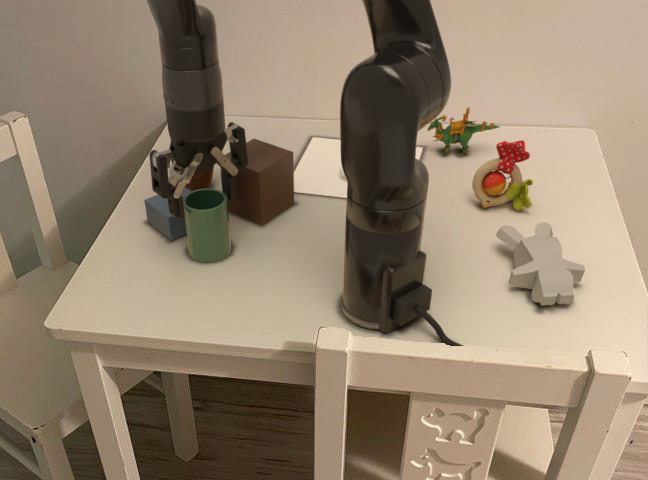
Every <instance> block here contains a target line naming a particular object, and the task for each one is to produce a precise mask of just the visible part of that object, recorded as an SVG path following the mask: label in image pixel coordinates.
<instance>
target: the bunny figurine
mask: <svg viewBox="0 0 648 480" xmlns="http://www.w3.org/2000/svg"><path fill="white" fill-rule="evenodd" d="M553 235H554V233H553V228H552V224H550V223H548V222H544V221H543V222H539V223H537V224H536V225H535V226H534V235H532V236H529V237H526V238H525V237H524V236H523V235H522V234H521V233H520V232H519V231H518V230H517V229H516V228H515V227H514V226H512V225H509V224H504V225H501V226H500V228H499V229H498V230H497V232H496V233H495V236H496V238H497V239H498V240H500V241H502V242H503V243H504V244H505V245H507V246H509V247H511V248H512V249H513V264H514V269H512V270H511V272H510V275H509V279H508V285H509V286H510V287H515V288H522V289H528V290H531V294H530V297H531V300H532V301H533V302H534V303H539V304H540V306H553V305H555V303H556V304H558V305H568V304H569V305H570V304H572V302H573V300H574V297H575V296H576V294H575V292H574V284H576V283H578V282H582V280H583V277H584V274H585V272H586V268H585V265H584V264H581V263H577V262H574V261H572V260H571V261H570V260H568V259H565V258H563V248H562V244H561V242H560V240H559V239H558V237H556V236H553Z"/></svg>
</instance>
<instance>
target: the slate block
mask: <svg viewBox="0 0 648 480" xmlns="http://www.w3.org/2000/svg"><path fill="white" fill-rule="evenodd" d="M189 192H192V191H190V190H189V189H187V188H186V187H185V188H184V190H183V192H182V194H181V196H182V197H184V196H185V195H186V194H188V193H189ZM143 203H144V207H145V208H144V209H145V213H146V220H147V223H148V224H149V225H151V226H152V227H153V228H154V229H156V230H157V231H158V232H159V233H161V234H162V235H163V236H165V237H166V238H168V239H169V240H170V241H174V240H176V239H179V238H181V237H183V236H186V229H185V221H184V219H183V220H181V221H179V220H178V219H177V218H175V217H174V216H173V215H171V214H170V212H169V207H168V199H167V198H166V199H164V198H162V197H161V196H159V195H158V194H156V195H153V196H151V197H148V198H146V199H144V200H143Z"/></svg>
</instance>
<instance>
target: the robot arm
mask: <svg viewBox="0 0 648 480" xmlns="http://www.w3.org/2000/svg"><path fill="white" fill-rule="evenodd" d="M146 2H147V5H148V7H149V10H150V14H151V16H152V18H153V21H154V23H155V25H156V28H157V32H158V44H159V50H160V59H161V83H162V91H163V93H162V94H163V96H162V97H163V100H164V108H165V116H166V125H167V131H168V135H169V139H170V143H169V148H168V149H166V150H162V151H158V150H156V149H152V150H151V151H150V152H149V165H150V176H151V178H150V179H151V189H152V191H153V192H154V193H155V194H156V195H159V196H161V197H162V198H164V199H166V198H167V199H168V207H169V212H170V214H171V215H173V216H174V217H175V218H177V219H178V220H179V221H181V220H183V219H185V213H184V205H183V197H182V196H181V194H182V192H183V190H184V188H185V186H186V184H189V183H190V181H191V178H192V176H193V174H195V175H196V174H198V173H201V172H202V171H203V170H206V169H211V168H213V169H214V168H215V165H217V166H218V167H221V168H222V169H223V172H221V171H220V182H221V191H222V192H224V193H225V194H226V196H227V199H229V200H232V199H234V198H235V194H236V192H237V182H236V174H237V173H238V170H239V169H240V168H241V167H243V168H245V167H246V166H247V165H248V156H247V146H246V143H247V138H246V130H245V128H244V127H242V126H240V125H239V124H238V123H235V122H233V121H230V122H229V123H228V124H227V127H226V118H225V117H226V116H225V103H224V87H223V76H222V70H221V66H220V59H219V46H218V45H219V44H218V33H217V31H218V30H217V23H216V19H215V18H216V17H215V15H214V14H213V12H212V11H211V10H210V9H209V8H208V7H206V6H205V5H201V4H197V1H196V0H146ZM361 2H362V5H363V8H364V11H365V15H366V18H367V22H368V26H369V31H370V36H371V40H372V45H373V54H372V55H370V56H369V57H367V58H365V59H364V60H362V61H361V62H359V63H357V64H356V65H355V66H354V67H352V68H351V70H350V71H349V73H347V75H346V77H345V79H344V81H343V86H342V89H341V94H340V102H339V136H340V137H339V138H340V139H339V140H340V143H341V164H342V169H343V172H344V175H345V177H346V180H347V198H346V207H345V208H346V210H345V227H344V228H345V229H344V230H345V231H344V257H343V278H342V279H343V281H342V286H343V287H342V298H341V310H342V313H343V315H344V316H345V318H347V320H349V321H350V322H352V323H353V324H355V325H357V326H359V327H362V328H365V329H369V330H379V331H381V332H382V333H383V334H388V333H390V332H391V331H394V330H395V329H397V328H399V327H400V326H404V325H405V324H407V323H409V322H411V321H412V320H414V319H417V317H420V316H421V318H422V319H424V320H425V321H426V322H427V323H428V324H429V326H431V327H432V328H433V330H434V331H435V333H436V334H437V336H438V338H439V339H440V341H441V342H443V343H444V344H445V346H447V345H450V346H464V344H460V343H458V342H456V341H454V340H452V339H451V338H449V337H448V336H447V334H446V333H445V332H444V330H443V328H442V326H441V324H439V322H438V321H437V320H436V319H435V318H434V317H433V316H432V315H430V313H428V311H429V310H430V309H431V302H432V296H433V295H432V294H433V289H432V288H430V287H429V286H427V285H425V284H424V278H425V270H426V263H427V253H426V252H425V251H423V250H421V247H422V240H423V239H422V238H423V230H424V222H425V215H426V206H427V199H428V190H429V181H430V174H429V170H428V168H427V166H426V165H425V163H424V162H422V161H421V160H420V159H419V160H418V159H416V147H417V141H418V132H420V131H421V130H422V129H424V128H425V127H427V126H428V125H430V124H431V123H432V122H433V121H434V120H435V118H436V119H437V117H438V116H440V114H441V113H442V112H443V111H444V109H445V108H446V106H447V105H448V102H449V100H450V98H451V97H450V96H451V91H452V73H451V68H450V63H449V59H448V56H447V51H446V48H445V45H444V42H443V37H442V35H441V31H440V28H439V25H438V22H437V19H436V15H435V12H434V9H433V5H432V2H431V0H361ZM227 142H228V143H229V152H231V159H230V160H229V159H228V158H227V157H226V156H225V154H224V153H223V150H224V148H225V146H226V144H227ZM172 159H174V162H173V164H172V163H171V162H172V161H171V160H172ZM181 167H182V168H183V169H184V170H185V171H184V173H183V174H182V173H181V172H180V169H181ZM221 168H220V169H221Z"/></svg>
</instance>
